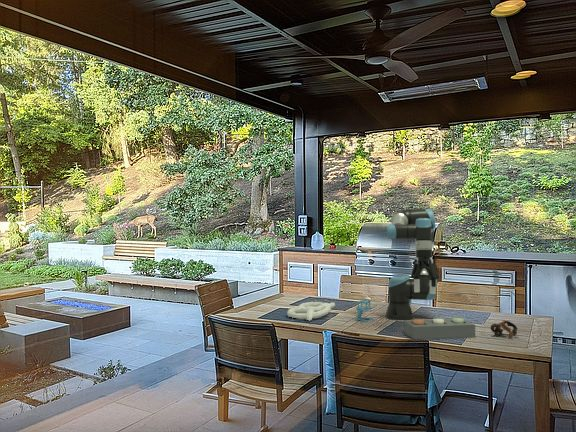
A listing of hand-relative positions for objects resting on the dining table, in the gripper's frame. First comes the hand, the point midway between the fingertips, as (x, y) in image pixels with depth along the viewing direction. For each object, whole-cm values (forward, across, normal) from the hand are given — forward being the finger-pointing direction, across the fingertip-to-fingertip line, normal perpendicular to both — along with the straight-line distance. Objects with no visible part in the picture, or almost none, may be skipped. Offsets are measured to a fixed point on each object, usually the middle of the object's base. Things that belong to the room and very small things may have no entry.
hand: (424, 293), depth 228 cm
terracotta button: (+16, 0, -3) cm, 16 cm away
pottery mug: (+20, +13, +34) cm, 42 cm away
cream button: (+16, +2, +6) cm, 17 cm away
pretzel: (+17, -62, -37) cm, 74 cm away
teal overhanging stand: (+18, -41, -13) cm, 46 cm away
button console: (+20, +1, +7) cm, 21 cm away
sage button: (+15, +4, +16) cm, 23 cm away
